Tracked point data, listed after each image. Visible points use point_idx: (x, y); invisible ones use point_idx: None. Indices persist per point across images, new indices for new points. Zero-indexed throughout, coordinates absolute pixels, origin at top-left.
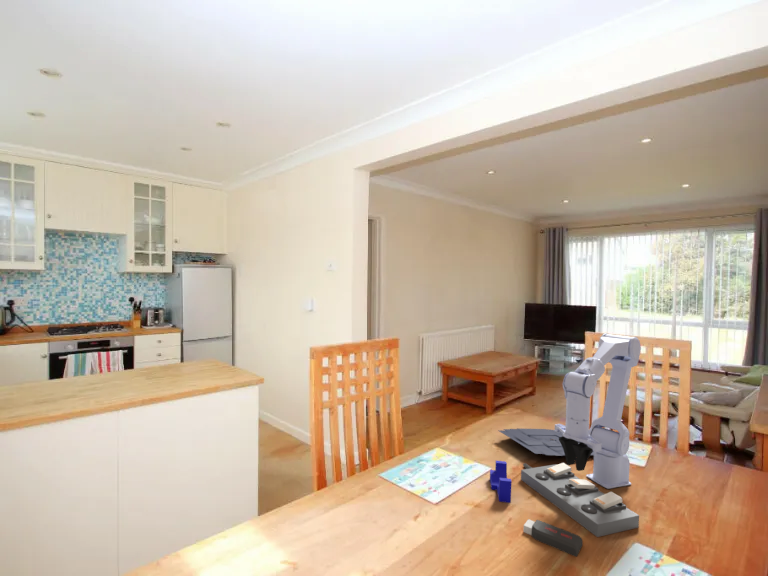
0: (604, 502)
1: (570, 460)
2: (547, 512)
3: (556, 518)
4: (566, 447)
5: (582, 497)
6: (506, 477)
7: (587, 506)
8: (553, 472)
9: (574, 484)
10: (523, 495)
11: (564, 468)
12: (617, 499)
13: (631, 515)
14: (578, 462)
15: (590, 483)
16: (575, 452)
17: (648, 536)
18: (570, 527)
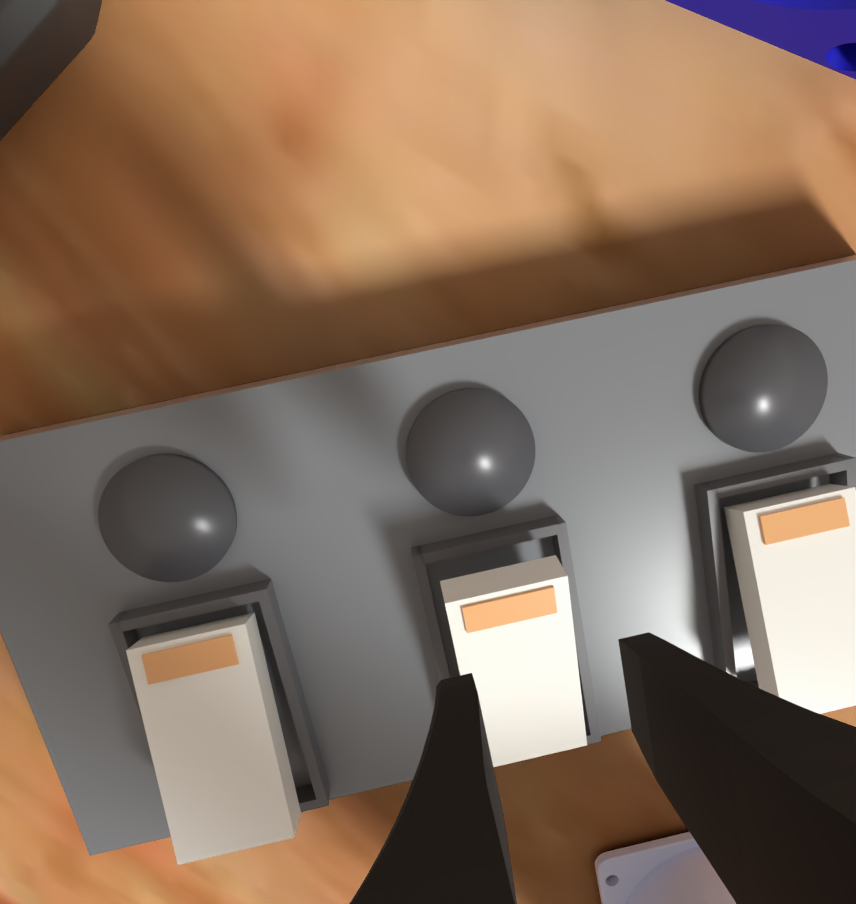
0: (164, 683)
1: (650, 705)
2: (336, 219)
3: (248, 249)
4: (804, 804)
5: (368, 570)
6: (850, 3)
7: (196, 522)
8: (765, 511)
9: (486, 582)
10: (610, 137)
11: (790, 651)
12: (171, 814)
13: (85, 801)
14: (422, 758)
15: (509, 746)
16: (484, 872)
17: (29, 782)
18: (123, 297)
